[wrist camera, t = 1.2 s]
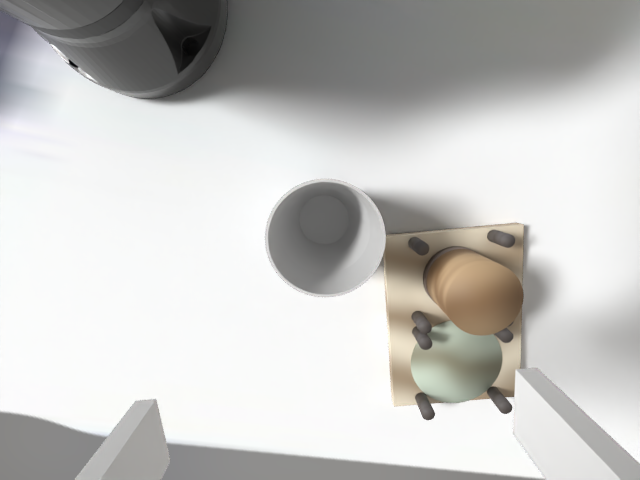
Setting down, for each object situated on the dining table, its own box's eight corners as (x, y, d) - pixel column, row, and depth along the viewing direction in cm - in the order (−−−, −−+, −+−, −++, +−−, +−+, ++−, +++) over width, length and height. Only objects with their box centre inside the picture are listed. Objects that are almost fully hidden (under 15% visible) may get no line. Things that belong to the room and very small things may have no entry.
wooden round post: (421, 249, 31) (445, 266, 26) (486, 243, 31) (524, 258, 25) (423, 309, 33) (446, 339, 27) (486, 304, 32) (523, 332, 27)
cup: (383, 214, 32) (410, 231, 22) (329, 276, 33) (333, 319, 23) (317, 159, 31) (316, 152, 21) (264, 225, 32) (240, 248, 22)
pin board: (381, 235, 32) (389, 242, 29) (516, 222, 32) (541, 228, 29) (391, 399, 36) (399, 425, 32) (513, 389, 36) (535, 414, 32)
